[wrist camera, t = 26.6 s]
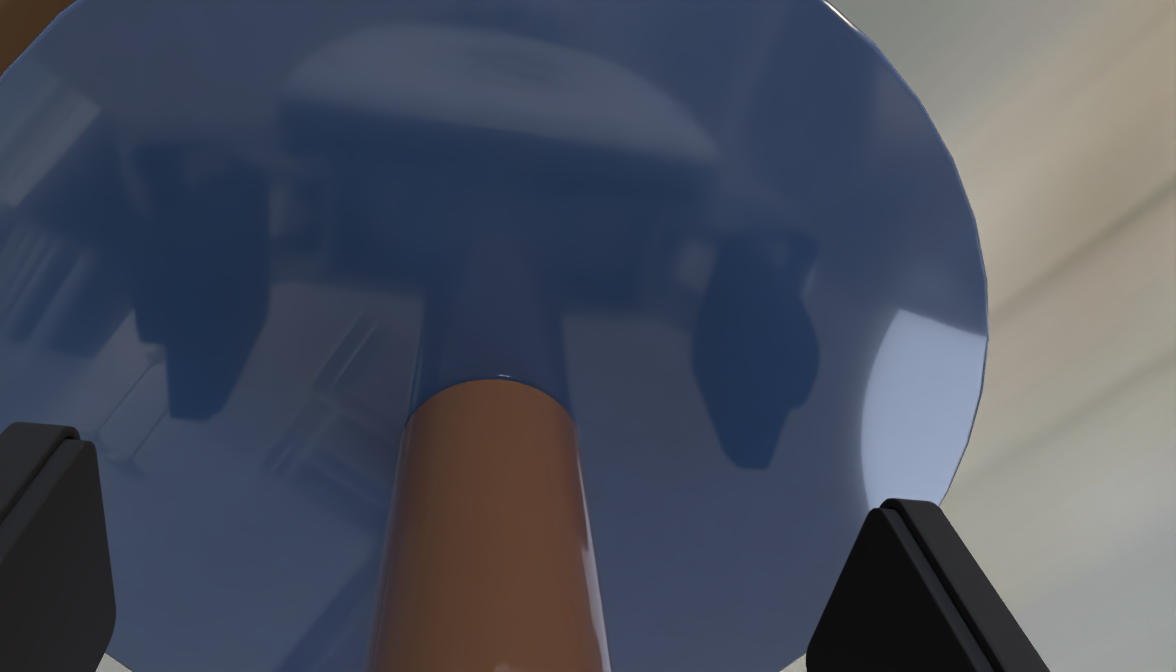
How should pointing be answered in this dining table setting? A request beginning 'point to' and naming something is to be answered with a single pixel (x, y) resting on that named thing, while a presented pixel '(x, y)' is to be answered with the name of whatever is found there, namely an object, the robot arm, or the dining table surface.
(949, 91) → the dining table surface
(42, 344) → the lid
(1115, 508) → the dining table surface
